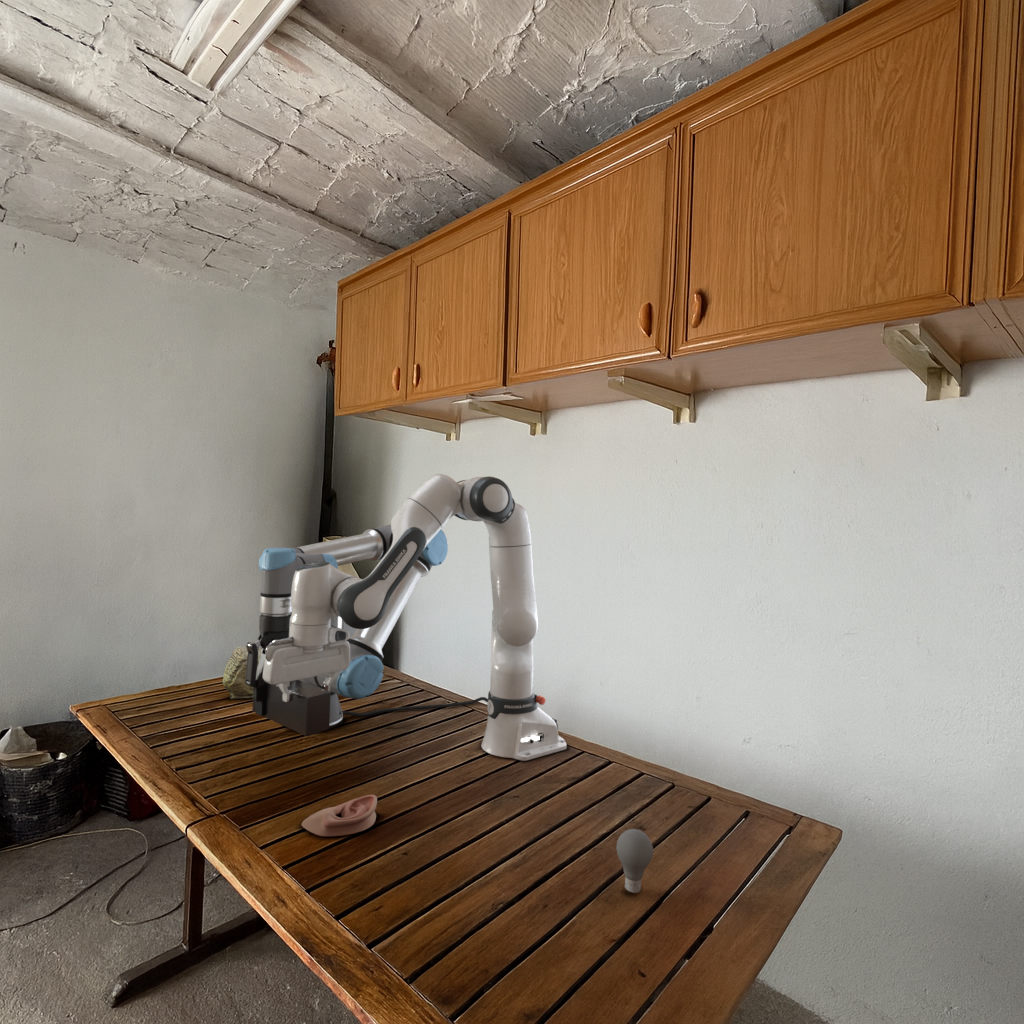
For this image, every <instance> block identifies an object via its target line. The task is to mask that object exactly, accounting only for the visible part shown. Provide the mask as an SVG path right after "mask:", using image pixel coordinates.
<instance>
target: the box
mask: <svg viewBox="0 0 1024 1024" xmlns="http://www.w3.org/2000/svg"><path fill="white" fill-rule="evenodd" d="M263 687H266V692H265V715H264V716H262V717H263V718H265V719H268V720H270V721H271V722H274V723H277V724H279V725H281V726H283V727H285V728H287V729H289V730H291V731H294V732H296V733H298V734H300V735H301V736H302V735H303V736H304V737H308V736H311V735H314V734H318V733H321V732H325V731H329V730H330V729H329V720H330V694H331V692H330V691H327V690H324V689H321V688H319V687H316V686H313V685H311V684H308V683H305V682H303V681H300V680H295V681H290V683H289V687H287V688H288V690H289V692H292V693H293V700H292V701H289V702H285V701H283V693H282V691H281V689H280V688H279V686H278V684H276V685H272V684H269V683H267V682H265V681H264V683H263ZM251 712H252V713H254V714H256V701H254V700H253V699H252V711H251ZM328 729H329V730H328Z"/></svg>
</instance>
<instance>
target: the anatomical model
mask: <svg viewBox="0 0 1024 1024" xmlns="http://www.w3.org/2000/svg"><path fill="white" fill-rule="evenodd" d="M377 805H378V797H377V795H376V794H367V795H363V796H360V797H357V798H353V799H351V800H348V801H346V802H343V803H341V804H338V805H336V806H332V807H325V808H323V809H321V810H319V811H316V812H314V813H312V814H310V815H309V816H308V817H306V818H305V819H304V820H303V821H302V822H301V827H302V828H303V829H304V830H306V831H307V832H310V833H312V834H314V835H316V836H319V837H337V836H339V837H341V836H347V835H352V834H357V833H360V832H363V831H365V830H367V829H369V828H371V827H372V826H373V825H374V824H375V822H376V818H377V813H376V809H377Z"/></svg>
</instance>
